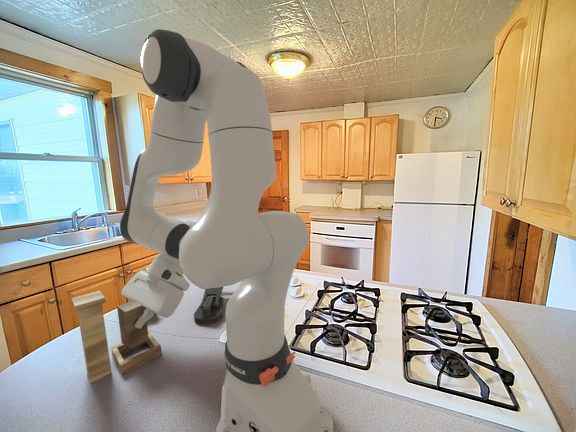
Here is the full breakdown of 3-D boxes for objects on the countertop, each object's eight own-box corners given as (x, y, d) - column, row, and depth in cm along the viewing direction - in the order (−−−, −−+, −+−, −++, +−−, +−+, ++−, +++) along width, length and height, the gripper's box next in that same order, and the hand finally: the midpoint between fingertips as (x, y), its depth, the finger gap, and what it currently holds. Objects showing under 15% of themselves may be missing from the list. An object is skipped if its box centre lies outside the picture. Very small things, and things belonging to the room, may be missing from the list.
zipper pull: (229, 273, 102) (219, 304, 77) (229, 288, 103) (220, 323, 79) (206, 274, 101) (189, 306, 76) (207, 290, 102) (191, 326, 78)
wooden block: (148, 339, 65) (144, 303, 63) (130, 349, 61) (125, 312, 60) (139, 333, 67) (136, 299, 66) (121, 342, 64) (117, 306, 62)
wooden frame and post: (161, 354, 65) (154, 285, 62) (89, 391, 54) (76, 309, 51) (149, 339, 71) (142, 276, 68) (82, 369, 60) (70, 295, 57)
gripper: (136, 261, 73) (101, 307, 66) (177, 277, 62) (140, 333, 55) (152, 271, 77) (121, 314, 71) (194, 287, 66) (161, 340, 60)
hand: (130, 323), depth 63 cm, fingers closed on wooden block, 4 cm apart
